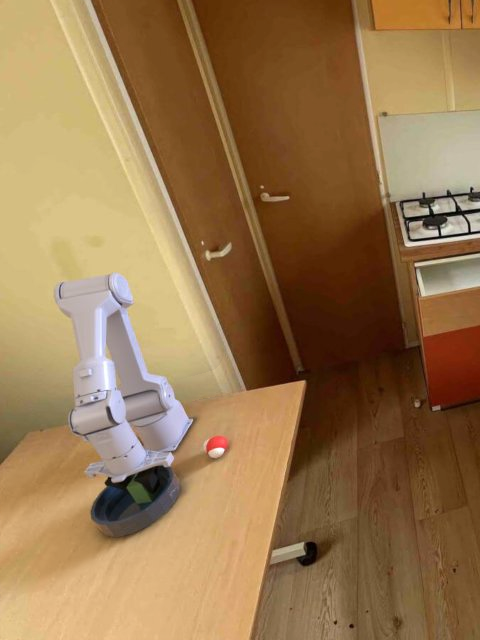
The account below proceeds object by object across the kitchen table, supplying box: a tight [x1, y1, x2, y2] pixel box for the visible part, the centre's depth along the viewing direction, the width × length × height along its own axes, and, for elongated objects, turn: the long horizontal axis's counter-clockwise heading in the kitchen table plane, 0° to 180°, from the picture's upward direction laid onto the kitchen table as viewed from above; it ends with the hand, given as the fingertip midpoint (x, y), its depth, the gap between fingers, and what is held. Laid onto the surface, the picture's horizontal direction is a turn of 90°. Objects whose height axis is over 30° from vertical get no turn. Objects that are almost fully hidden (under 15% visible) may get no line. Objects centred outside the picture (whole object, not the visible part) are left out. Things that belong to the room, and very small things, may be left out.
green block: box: [126, 473, 161, 504], centre depth 88 cm, size 4×3×6 cm
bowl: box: [89, 465, 181, 538], centre depth 87 cm, size 13×13×4 cm
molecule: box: [202, 435, 229, 459], centre depth 98 cm, size 5×5×4 cm
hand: (146, 490), depth 89 cm, fingers closed on green block, 3 cm apart
